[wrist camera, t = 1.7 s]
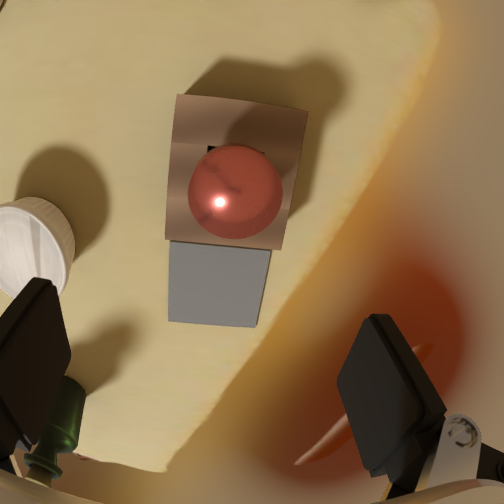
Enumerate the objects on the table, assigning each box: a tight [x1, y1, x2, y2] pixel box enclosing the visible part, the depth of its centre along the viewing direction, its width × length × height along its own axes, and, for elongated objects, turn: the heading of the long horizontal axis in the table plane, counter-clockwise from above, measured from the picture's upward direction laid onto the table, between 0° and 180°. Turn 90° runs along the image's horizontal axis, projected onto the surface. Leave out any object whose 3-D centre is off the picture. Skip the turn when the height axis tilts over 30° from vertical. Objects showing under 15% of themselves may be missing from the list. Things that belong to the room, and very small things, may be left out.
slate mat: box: [168, 241, 271, 328], centre depth 34 cm, size 10×10×1 cm
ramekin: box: [0, 197, 75, 299], centre depth 27 cm, size 11×11×5 cm
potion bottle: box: [24, 376, 86, 488], centre depth 32 cm, size 8×8×18 cm
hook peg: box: [188, 143, 283, 239], centre depth 24 cm, size 6×6×9 cm
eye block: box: [165, 94, 308, 250], centre depth 26 cm, size 12×10×4 cm
